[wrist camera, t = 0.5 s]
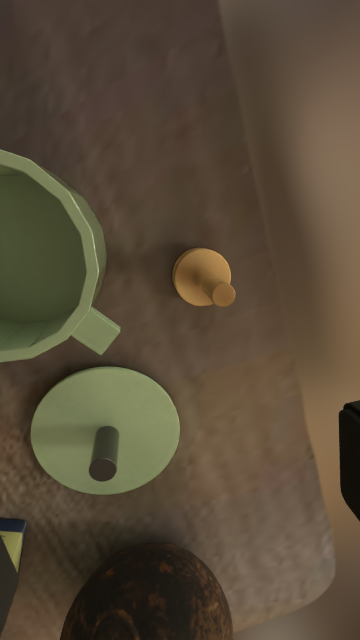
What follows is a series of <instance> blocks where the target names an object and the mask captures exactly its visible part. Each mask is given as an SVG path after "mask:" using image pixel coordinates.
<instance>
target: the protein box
mask: <svg viewBox="0 0 360 640" xmlns="http://www.w3.org/2000/svg"><path fill="white" fill-rule="evenodd" d="M26 525H27V521H23V520H12V519H0V535H1V537H2V539H3V542H4V544H5V546H6V548H7V550H8V553H9V555H10V557H11V559H12V562H13V564H14V566H15V568H16V571H17V576H18V573H19V567H20V561H21V555H22V549H23V543H24V537H25V531H26Z"/></svg>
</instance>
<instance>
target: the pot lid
mask: <svg viewBox="0 0 360 640" xmlns="http://www.w3.org/2000/svg"><path fill="white" fill-rule="evenodd" d="M179 434H180V424H179V419H178V414H177V411H176V408H175V405H174V403H173V401H172V400H171V398H170V397H169V395H168V394H167V392H166V391H165V390H164V389H163V388H162V387H161V386H160V385H159V384H157V383H156V382H155V381H154V380H152V379H150V378H149V377H147V376H145V375H143V374H141V373H139V372H136V371H133V370H130V369H126V368H120V367H95V368H90V369H85V370H82V371H79V372H76V373H74V374H72V375H70V376H67V377H66V378H64V379H63V380H61V381H59V382H58V383H57V384H56V385H54V386H53V387H52V388H51V389H50V390H49V391H48V392H47V393H46V394H45V396H44V397H43V399H42V400H41V401H40V403H39V405H38V407H37V409H36V411H35V413H34V416H33V419H32V424H31V443H32V448H33V451H34V454H35V456H36V458H37V460H38V462H39V463H40V465H41V466H42V467H43V469H44V470H45V471H46V472H47V473H48V474H49V475H50V476H51V477H52V478H54V479H55V480H56V481H58V482H59V483H61V484H63V485H64V486H66V487H69V488H71V489H73V490H76V491H79V492H83V493H88V494H97V495H110V494H118V493H122V492H127V491H130V490H133V489H136V488H138V487H140V486H142V485H144V484H146V483H147V482H149V481H151V480H152V479H153V478H155V477H156V476H157V475H158V474H159V473H160V472H161V471H162V470H163V469H164V468H165V467H166V466H167V465H168V463H169V462H170V460H171V459H172V457H173V455H174V453H175V451H176V448H177V445H178V441H179Z"/></svg>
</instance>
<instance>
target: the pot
mask: <svg viewBox="0 0 360 640" xmlns="http://www.w3.org/2000/svg"><path fill="white" fill-rule="evenodd" d="M106 265H107V255H106V245H105V240H104V235H103V230H102V227H101V226H100V224H99V222H98V220H97V218H96V216H95V214H94V213H93V211H92V210H91V208H90V207H89V205H88V203H87V202H86V200H85V199H84V198H83V197H82V196H81V195H80V194H78V193H77V192H76V191H75V190H74V189H73V188H71V187H70V186H69V185H67V184H66V183H65V182H64V181H63V180H61V179H60V178H59V177H58V176H56V175H55V174H53V173H51V172H50V171H48V170H46V169H45V168H43V167H41V166H40V165H38V164H36V163H35V162H33V161H31V160H29V159H27V158H24V157H21V156H19V155H16V154H13V153H10V152H7V151H4V150H1V149H0V362H7V361H15V360H22V359H30V358H33V357H36V356H38V355H40V354H41V353H43V352H45V351H47V350H49V349H51V348H52V347H54V346H56V345H58V344H60V343H62V342H63V341H65V340H66V339H68V337H69V336H70V335H71V336H72V337H74V338H75V339H77V340H78V341H80V342H81V343H83V344H84V345H86V346H87V347H89V348H90V349H92V350H93V351H95V352H96V353H98V354H99V355H102V354H103V353H104V351H105V350H106V349H107V348H108V346H109V345H110V344H111V343H112V341H113V340H114V339H115V338H116V336H117V335H118V334H119V333H120V329H121V327H119V326H118V325H117V324H115V323H114V322H112V321H111V320H110V319H108V318H107V317H105V316H104V315H103V314H101V313H100V312H98V311H97V310H96V309H94V308H93V307H92V305H93V303H94V301H95V299H96V297H97V295H98V293H99V292H100V289H101V285H102V281H103V278H104V274H105V269H106Z"/></svg>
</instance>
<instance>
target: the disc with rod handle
mask: <svg viewBox="0 0 360 640" xmlns="http://www.w3.org/2000/svg"><path fill="white" fill-rule="evenodd" d="M172 279H173V283H174V286H175V288H176V290H177V292H178V293H179V295H180V296H181V297H182V298H183V299H184V300H185V301H186V302H188V303H190V304H192V305H196V306H207V305H211V304H213V303H215V304H216V305H217V306H220V307H226V306H228V305H230V304H231V303H232V302H233V300H234V298H235V291H234V288H233V287H232V286H231V285H229V284H230V279H231V274H230V269H229V266H228V264H227V262H226V260H225V259H224V258H223V257H222V256H221V255H220V254H218V253H217V252H214V251H212V250H209V249H206V248H193V249H190V250H188V251H186V252H185V253H183V254H182V255H181V256H180V257H179V258H178V259H177V261H176V263H175V265H174V267H173V272H172Z"/></svg>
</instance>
